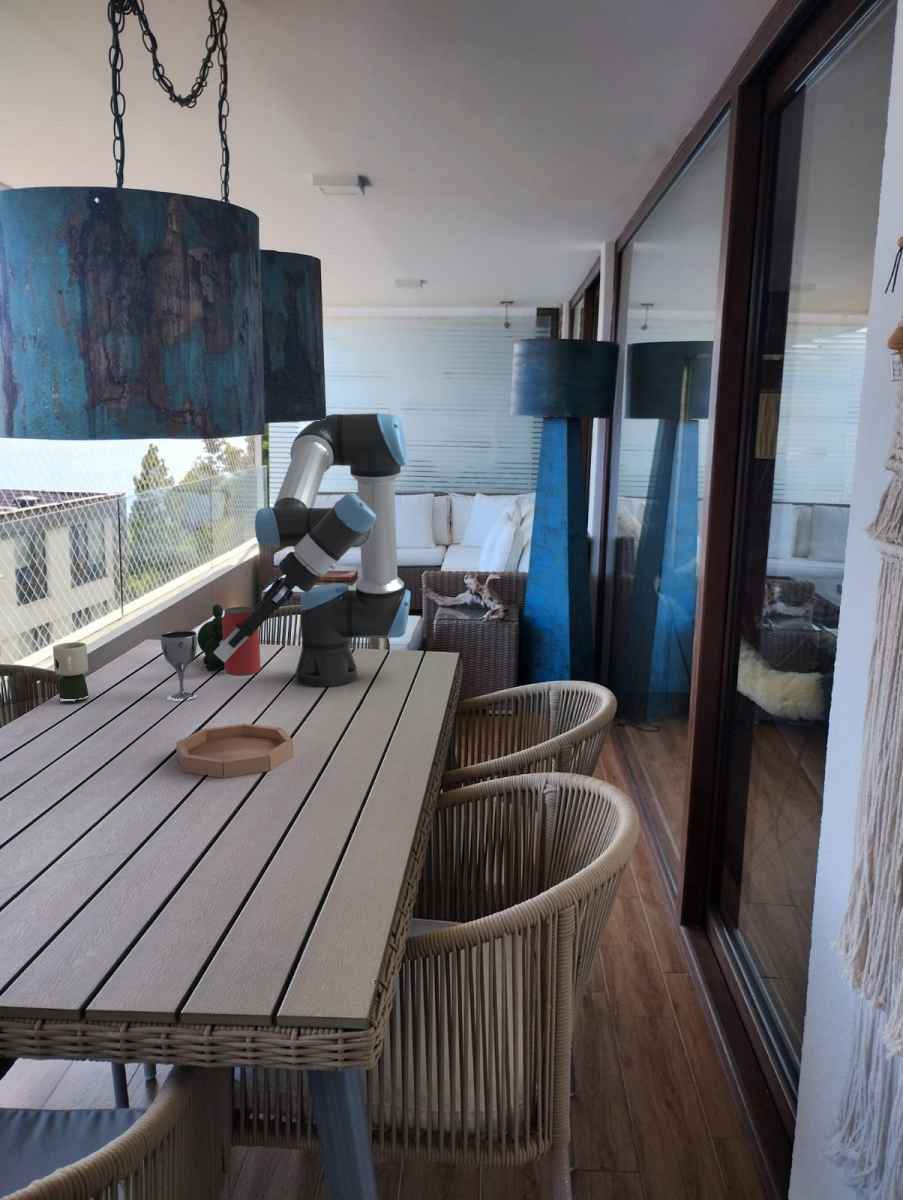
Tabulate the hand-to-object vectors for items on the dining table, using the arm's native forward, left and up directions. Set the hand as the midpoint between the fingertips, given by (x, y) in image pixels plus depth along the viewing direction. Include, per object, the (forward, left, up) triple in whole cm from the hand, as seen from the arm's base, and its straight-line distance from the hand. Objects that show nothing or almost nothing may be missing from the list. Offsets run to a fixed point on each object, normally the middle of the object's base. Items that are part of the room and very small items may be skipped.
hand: (222, 652), depth 177 cm
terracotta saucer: (+1, +1, -21) cm, 21 cm away
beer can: (+1, +3, -4) cm, 6 cm away
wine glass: (-44, -2, -21) cm, 49 cm away
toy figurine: (-69, +11, -21) cm, 73 cm away
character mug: (-52, -25, -21) cm, 61 cm away
